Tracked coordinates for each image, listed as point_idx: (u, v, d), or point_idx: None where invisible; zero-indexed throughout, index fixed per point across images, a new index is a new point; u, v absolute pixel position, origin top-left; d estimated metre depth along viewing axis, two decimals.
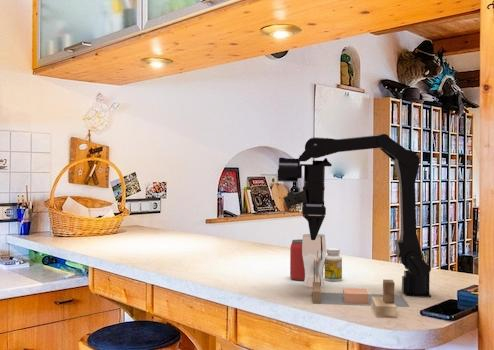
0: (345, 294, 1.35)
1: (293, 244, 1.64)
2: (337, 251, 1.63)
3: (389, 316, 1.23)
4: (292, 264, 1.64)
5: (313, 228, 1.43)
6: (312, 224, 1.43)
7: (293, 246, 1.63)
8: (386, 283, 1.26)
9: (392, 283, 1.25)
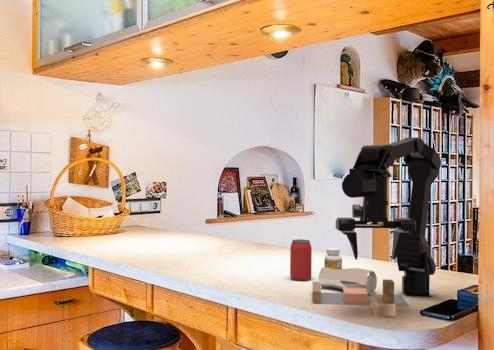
0: (345, 294, 1.35)
1: (293, 244, 1.64)
2: (337, 251, 1.63)
3: (389, 316, 1.23)
4: (292, 264, 1.64)
5: (351, 246, 1.30)
6: (351, 241, 1.31)
7: (293, 246, 1.63)
8: (386, 283, 1.26)
9: (392, 283, 1.25)
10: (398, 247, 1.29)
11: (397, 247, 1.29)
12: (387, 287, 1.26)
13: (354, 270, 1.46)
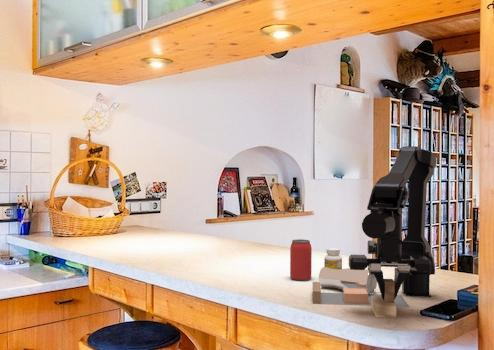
0: (345, 294, 1.35)
1: (293, 244, 1.64)
2: (337, 251, 1.63)
3: (389, 315, 1.23)
4: (292, 264, 1.64)
5: (378, 284, 1.27)
6: None
7: (293, 246, 1.63)
8: (386, 282, 1.26)
9: (392, 282, 1.25)
10: (398, 287, 1.25)
11: (397, 287, 1.25)
12: (387, 286, 1.26)
13: (354, 270, 1.46)
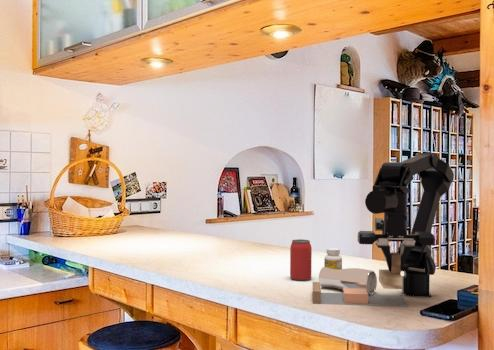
0: (345, 294, 1.35)
1: (293, 244, 1.64)
2: (337, 251, 1.63)
3: (396, 286, 1.32)
4: (292, 264, 1.64)
5: (385, 258, 1.37)
6: (385, 254, 1.37)
7: (293, 246, 1.63)
8: (393, 256, 1.35)
9: (399, 256, 1.35)
10: (404, 260, 1.35)
11: (403, 260, 1.35)
12: (394, 259, 1.35)
13: (354, 270, 1.46)
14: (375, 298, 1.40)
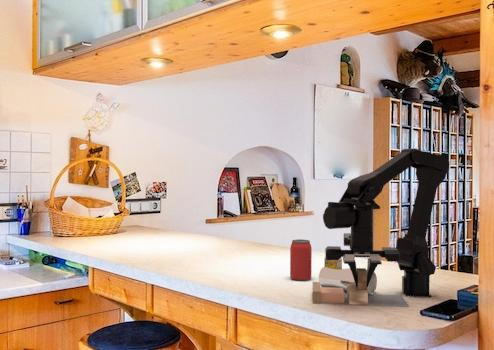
0: (321, 293, 1.36)
1: (293, 244, 1.64)
2: None
3: (361, 301, 1.33)
4: (292, 264, 1.64)
5: (352, 273, 1.38)
6: None
7: (293, 246, 1.63)
8: (359, 271, 1.36)
9: (365, 271, 1.36)
10: (370, 275, 1.36)
11: (369, 275, 1.36)
12: (360, 275, 1.36)
13: None
14: (375, 298, 1.40)
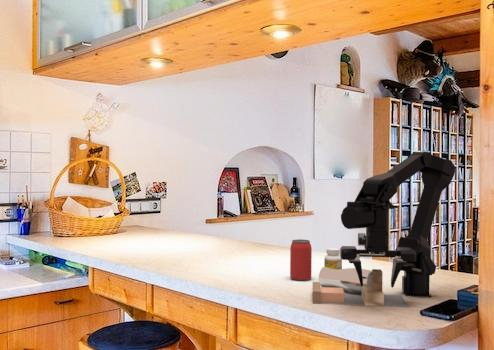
0: (321, 293, 1.36)
1: (293, 244, 1.64)
2: (337, 251, 1.63)
3: (377, 303, 1.33)
4: (292, 264, 1.64)
5: None
6: None
7: (293, 246, 1.63)
8: (375, 272, 1.36)
9: (381, 272, 1.35)
10: (396, 276, 1.35)
11: (395, 276, 1.35)
12: (376, 276, 1.36)
13: (354, 270, 1.46)
14: None
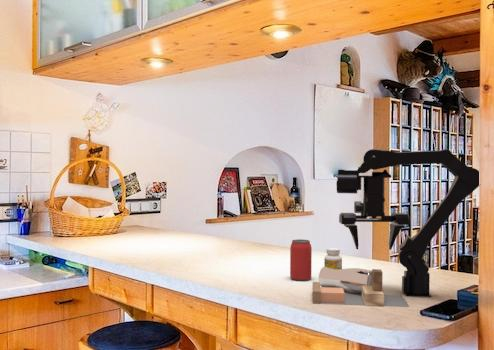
0: (321, 293, 1.36)
1: (293, 244, 1.64)
2: (337, 251, 1.63)
3: (377, 303, 1.33)
4: (292, 264, 1.64)
5: (353, 237, 1.49)
6: (352, 233, 1.49)
7: (293, 246, 1.63)
8: (375, 272, 1.36)
9: (381, 272, 1.35)
10: (394, 238, 1.47)
11: (393, 238, 1.47)
12: (376, 276, 1.36)
13: (354, 270, 1.46)
14: None
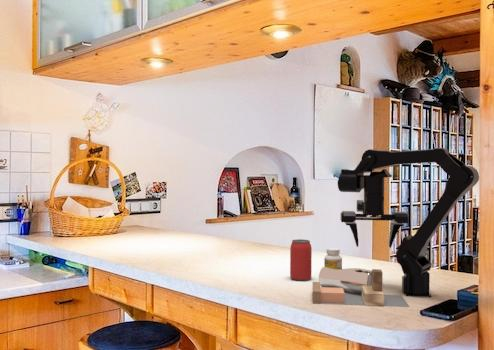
0: (321, 293, 1.36)
1: (293, 244, 1.64)
2: (337, 251, 1.63)
3: (377, 303, 1.33)
4: (292, 264, 1.64)
5: (353, 235, 1.53)
6: None
7: (293, 246, 1.63)
8: (375, 272, 1.36)
9: (381, 272, 1.35)
10: (393, 236, 1.51)
11: (392, 236, 1.50)
12: (376, 276, 1.36)
13: (354, 270, 1.46)
14: None
